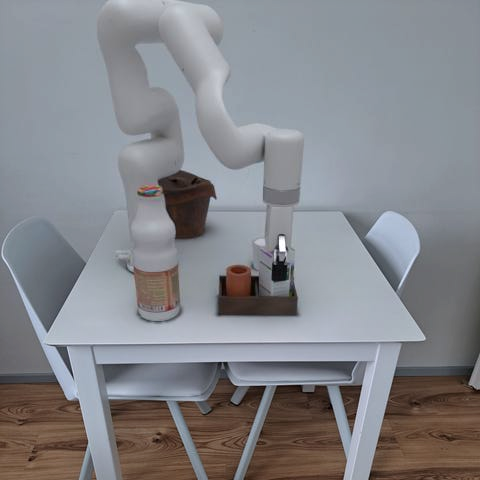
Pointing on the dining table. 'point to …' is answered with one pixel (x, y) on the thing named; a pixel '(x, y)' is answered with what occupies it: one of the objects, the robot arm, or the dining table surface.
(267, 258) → the syrup box
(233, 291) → the orange hollow cylinder
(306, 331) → the dining table surface
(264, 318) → the dining table surface
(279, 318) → the dining table surface
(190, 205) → the brown tapered bucket
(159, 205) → the fruit juice
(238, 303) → the spice rack
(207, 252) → the dining table surface
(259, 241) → the white tapered cylinder
